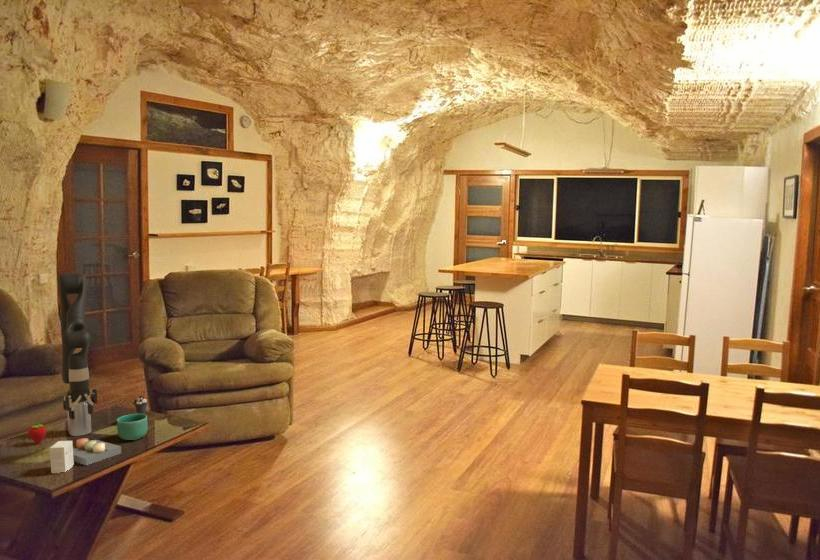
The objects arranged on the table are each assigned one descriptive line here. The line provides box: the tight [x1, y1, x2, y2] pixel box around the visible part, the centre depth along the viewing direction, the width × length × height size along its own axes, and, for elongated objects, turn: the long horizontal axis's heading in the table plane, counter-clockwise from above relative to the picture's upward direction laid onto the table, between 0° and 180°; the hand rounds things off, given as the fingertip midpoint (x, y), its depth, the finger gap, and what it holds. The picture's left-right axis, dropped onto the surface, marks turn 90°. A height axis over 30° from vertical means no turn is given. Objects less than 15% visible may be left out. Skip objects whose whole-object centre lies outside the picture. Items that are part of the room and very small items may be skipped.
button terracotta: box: [75, 437, 89, 449], centre depth 277 cm, size 5×5×4 cm
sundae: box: [132, 391, 149, 415], centre depth 318 cm, size 7×7×15 cm
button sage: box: [84, 439, 97, 452], centre depth 274 cm, size 5×5×4 cm
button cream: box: [93, 443, 105, 454], centre depth 271 cm, size 5×5×4 cm
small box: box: [49, 440, 75, 474], centre depth 259 cm, size 8×6×10 cm
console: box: [73, 439, 122, 466], centre depth 274 cm, size 17×16×3 cm
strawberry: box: [27, 423, 48, 445], centre depth 289 cm, size 6×8×10 cm
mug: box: [116, 413, 149, 441], centre depth 297 cm, size 17×13×10 cm
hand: (81, 416), depth 276 cm, fingers open, 7 cm apart
